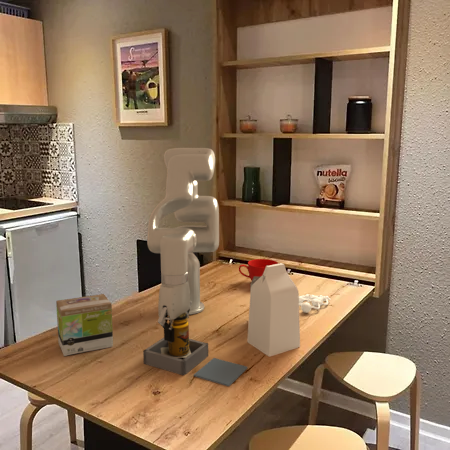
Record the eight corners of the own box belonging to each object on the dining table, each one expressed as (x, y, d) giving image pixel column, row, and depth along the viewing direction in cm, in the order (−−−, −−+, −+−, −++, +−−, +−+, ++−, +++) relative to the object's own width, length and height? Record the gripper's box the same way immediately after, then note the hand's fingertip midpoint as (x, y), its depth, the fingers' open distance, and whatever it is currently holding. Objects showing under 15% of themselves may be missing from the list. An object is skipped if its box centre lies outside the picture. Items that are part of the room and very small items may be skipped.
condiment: (192, 357, 139) (191, 317, 136) (162, 359, 137) (161, 319, 135) (188, 346, 146) (187, 308, 143) (160, 348, 144) (159, 310, 142)
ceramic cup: (240, 279, 214) (240, 257, 212) (278, 281, 212) (279, 259, 210) (236, 289, 202) (237, 266, 199) (277, 291, 199) (278, 268, 197)
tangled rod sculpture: (309, 297, 197) (309, 287, 196) (339, 303, 187) (339, 293, 186) (278, 308, 184) (278, 297, 183) (309, 315, 173) (309, 304, 173)
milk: (269, 356, 144) (271, 273, 138) (247, 342, 153) (248, 263, 148) (300, 347, 150) (303, 266, 144) (277, 333, 159) (279, 257, 154)
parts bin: (143, 363, 139) (143, 350, 139) (169, 345, 150) (169, 333, 150) (184, 375, 133) (183, 362, 132) (208, 355, 144) (208, 343, 143)
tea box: (63, 357, 143) (60, 310, 140) (58, 344, 152) (54, 299, 148) (114, 347, 150) (111, 302, 147) (106, 334, 158) (103, 292, 155)
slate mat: (193, 376, 132) (193, 374, 132) (213, 359, 142) (213, 357, 142) (229, 386, 127) (229, 384, 127) (247, 368, 137) (247, 366, 137)
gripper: (180, 267, 146) (181, 322, 150) (145, 284, 131) (147, 345, 135) (201, 271, 142) (202, 327, 146) (167, 289, 128) (169, 351, 132)
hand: (176, 335), depth 141 cm, fingers closed on condiment, 6 cm apart
